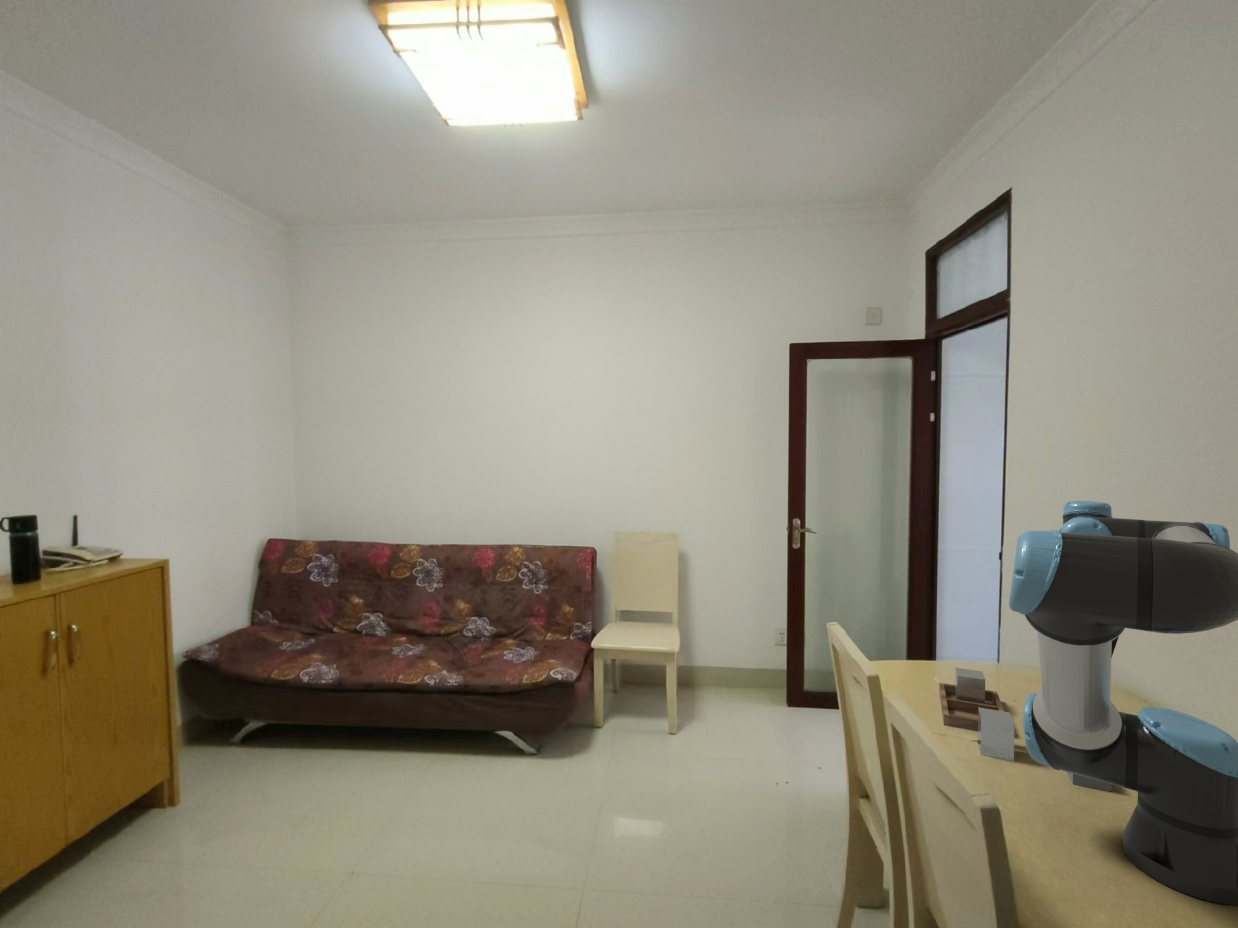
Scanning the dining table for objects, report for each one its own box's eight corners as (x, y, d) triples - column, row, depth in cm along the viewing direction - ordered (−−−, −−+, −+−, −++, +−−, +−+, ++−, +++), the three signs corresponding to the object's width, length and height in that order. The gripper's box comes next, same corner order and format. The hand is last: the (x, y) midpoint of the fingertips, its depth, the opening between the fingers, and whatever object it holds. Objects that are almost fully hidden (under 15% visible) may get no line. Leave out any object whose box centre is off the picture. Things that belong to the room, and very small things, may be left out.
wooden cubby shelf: (1009, 741, 132) (1009, 726, 131) (943, 729, 137) (943, 714, 137) (996, 704, 150) (996, 691, 150) (939, 695, 156) (939, 682, 156)
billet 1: (984, 711, 144) (985, 679, 144) (956, 706, 147) (957, 675, 147) (982, 702, 150) (982, 671, 149) (955, 697, 152) (955, 667, 152)
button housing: (1111, 791, 112) (1111, 776, 112) (1072, 783, 115) (1073, 768, 115) (1102, 776, 117) (1102, 761, 117) (1065, 768, 120) (1065, 754, 120)
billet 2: (1013, 761, 123) (1014, 723, 123) (980, 754, 126) (981, 718, 126) (1009, 748, 129) (1009, 712, 128) (977, 742, 131) (978, 707, 131)
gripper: (1122, 578, 116) (1120, 695, 117) (1042, 572, 122) (1040, 683, 123) (1134, 586, 109) (1131, 710, 110) (1049, 579, 116) (1047, 697, 116)
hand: (1083, 696), depth 117 cm, fingers closed
